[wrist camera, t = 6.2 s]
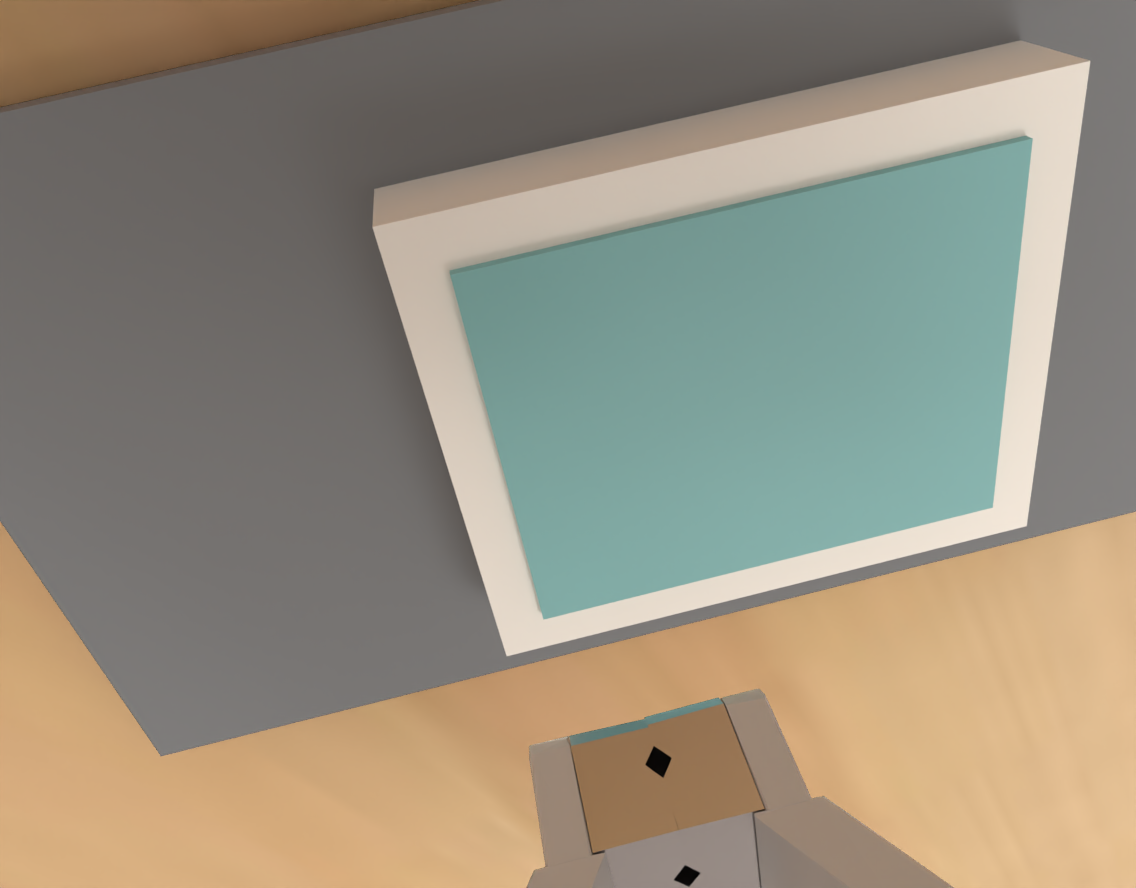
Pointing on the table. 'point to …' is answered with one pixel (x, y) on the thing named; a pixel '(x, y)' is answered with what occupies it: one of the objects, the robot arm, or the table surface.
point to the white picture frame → (744, 337)
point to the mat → (377, 337)
